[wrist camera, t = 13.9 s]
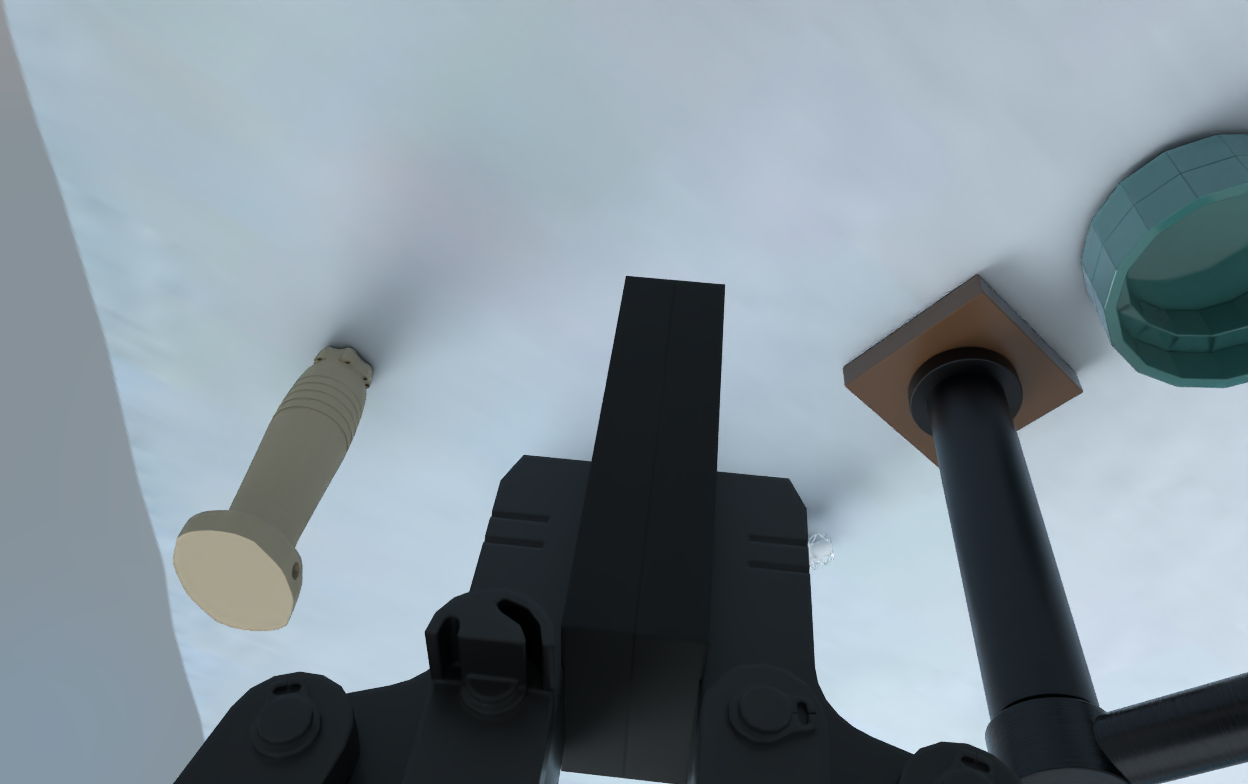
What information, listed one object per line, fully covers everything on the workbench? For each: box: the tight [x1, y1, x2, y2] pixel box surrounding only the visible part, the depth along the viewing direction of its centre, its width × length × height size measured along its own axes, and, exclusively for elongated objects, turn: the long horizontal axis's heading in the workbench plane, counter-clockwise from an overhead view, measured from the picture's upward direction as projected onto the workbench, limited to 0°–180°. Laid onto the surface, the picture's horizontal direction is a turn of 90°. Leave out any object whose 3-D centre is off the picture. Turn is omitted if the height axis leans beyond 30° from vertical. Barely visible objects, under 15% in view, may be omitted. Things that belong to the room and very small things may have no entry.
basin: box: [1081, 134, 1248, 388], centre depth 43 cm, size 10×10×4 cm
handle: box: [173, 347, 373, 631], centre depth 48 cm, size 5×6×15 cm
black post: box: [843, 275, 1099, 720], centre depth 43 cm, size 8×8×20 cm
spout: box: [985, 672, 1248, 784], centre depth 35 cm, size 16×4×14 cm, turn 128°
